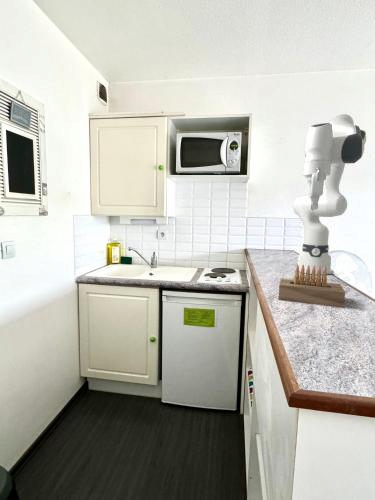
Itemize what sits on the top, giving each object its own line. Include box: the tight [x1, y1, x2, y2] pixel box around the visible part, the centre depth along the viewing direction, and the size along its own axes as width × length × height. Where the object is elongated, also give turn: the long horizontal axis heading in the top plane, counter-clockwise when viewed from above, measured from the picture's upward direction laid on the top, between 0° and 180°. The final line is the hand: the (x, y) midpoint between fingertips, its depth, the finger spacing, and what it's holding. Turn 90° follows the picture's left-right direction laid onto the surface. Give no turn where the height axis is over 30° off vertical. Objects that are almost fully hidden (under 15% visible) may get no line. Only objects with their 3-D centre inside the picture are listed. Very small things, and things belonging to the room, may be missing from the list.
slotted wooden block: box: [278, 278, 346, 308], centre depth 97 cm, size 11×20×5 cm, turn 69°
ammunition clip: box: [293, 263, 328, 287], centre depth 97 cm, size 11×2×12 cm, turn 68°
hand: (314, 209), depth 101 cm, fingers open, 8 cm apart
